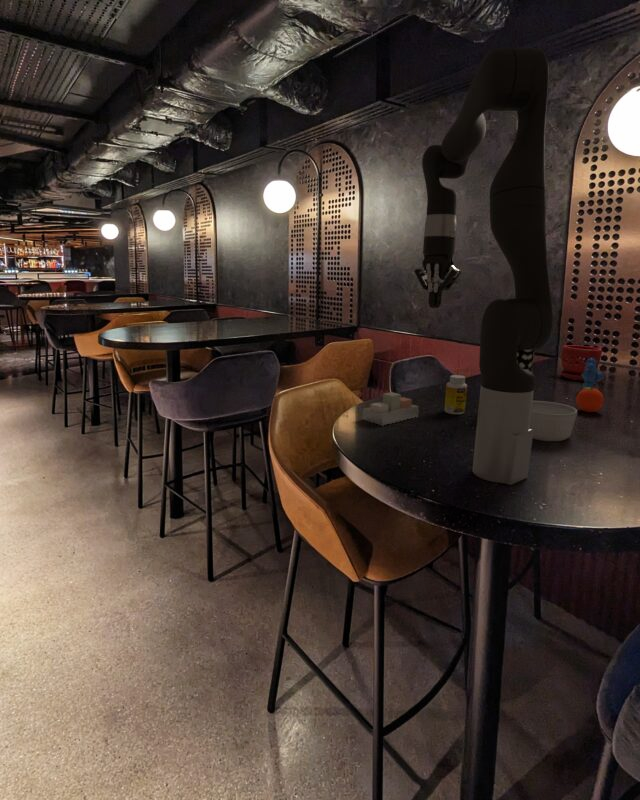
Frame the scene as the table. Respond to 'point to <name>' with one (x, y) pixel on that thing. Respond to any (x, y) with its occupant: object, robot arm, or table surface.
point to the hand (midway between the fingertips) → (434, 307)
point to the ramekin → (551, 420)
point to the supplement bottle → (455, 395)
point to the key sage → (392, 400)
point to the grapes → (591, 374)
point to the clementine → (589, 399)
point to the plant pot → (577, 360)
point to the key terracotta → (405, 402)
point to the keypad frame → (390, 415)
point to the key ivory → (379, 407)
